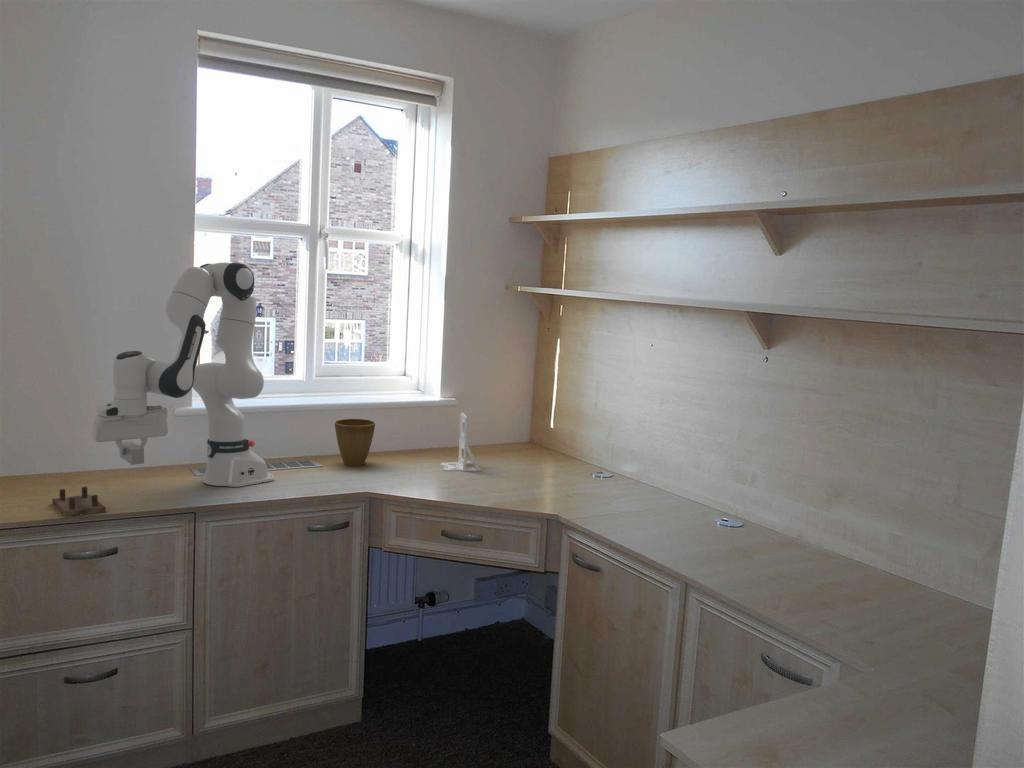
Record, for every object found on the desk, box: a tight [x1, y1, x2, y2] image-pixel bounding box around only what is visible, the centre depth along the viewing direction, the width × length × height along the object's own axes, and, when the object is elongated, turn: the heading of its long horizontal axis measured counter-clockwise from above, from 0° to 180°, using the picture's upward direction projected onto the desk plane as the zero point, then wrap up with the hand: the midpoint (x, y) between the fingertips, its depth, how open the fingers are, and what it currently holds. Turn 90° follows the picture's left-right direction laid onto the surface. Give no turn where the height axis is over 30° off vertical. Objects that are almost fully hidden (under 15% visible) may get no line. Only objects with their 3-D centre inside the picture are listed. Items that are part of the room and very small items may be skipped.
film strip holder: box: [439, 412, 481, 473], centre depth 314 cm, size 14×14×20 cm
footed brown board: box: [51, 486, 106, 517], centre depth 238 cm, size 10×16×4 cm, turn 40°
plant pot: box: [334, 418, 376, 467], centre depth 311 cm, size 15×15×16 cm
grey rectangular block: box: [119, 441, 145, 466], centre depth 246 cm, size 3×12×4 cm, turn 40°
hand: (131, 453), depth 246 cm, fingers closed on grey rectangular block, 3 cm apart
